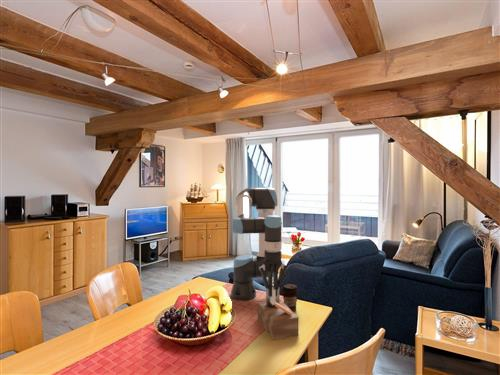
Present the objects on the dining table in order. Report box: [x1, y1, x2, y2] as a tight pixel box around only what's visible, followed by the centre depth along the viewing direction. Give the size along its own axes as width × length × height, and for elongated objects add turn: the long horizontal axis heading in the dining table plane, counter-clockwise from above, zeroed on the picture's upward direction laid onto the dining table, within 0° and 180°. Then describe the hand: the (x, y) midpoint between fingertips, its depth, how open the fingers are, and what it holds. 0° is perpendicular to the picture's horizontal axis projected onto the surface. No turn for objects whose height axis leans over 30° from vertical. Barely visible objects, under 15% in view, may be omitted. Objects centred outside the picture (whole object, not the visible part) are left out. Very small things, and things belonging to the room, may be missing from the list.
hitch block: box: [257, 299, 300, 341], centre depth 130 cm, size 20×12×8 cm, turn 17°
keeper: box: [275, 302, 292, 316], centre depth 125 cm, size 5×9×1 cm
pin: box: [265, 281, 281, 308], centre depth 135 cm, size 6×6×15 cm
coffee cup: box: [281, 283, 299, 313], centre depth 146 cm, size 9×8×13 cm
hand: (272, 303), depth 123 cm, fingers closed
